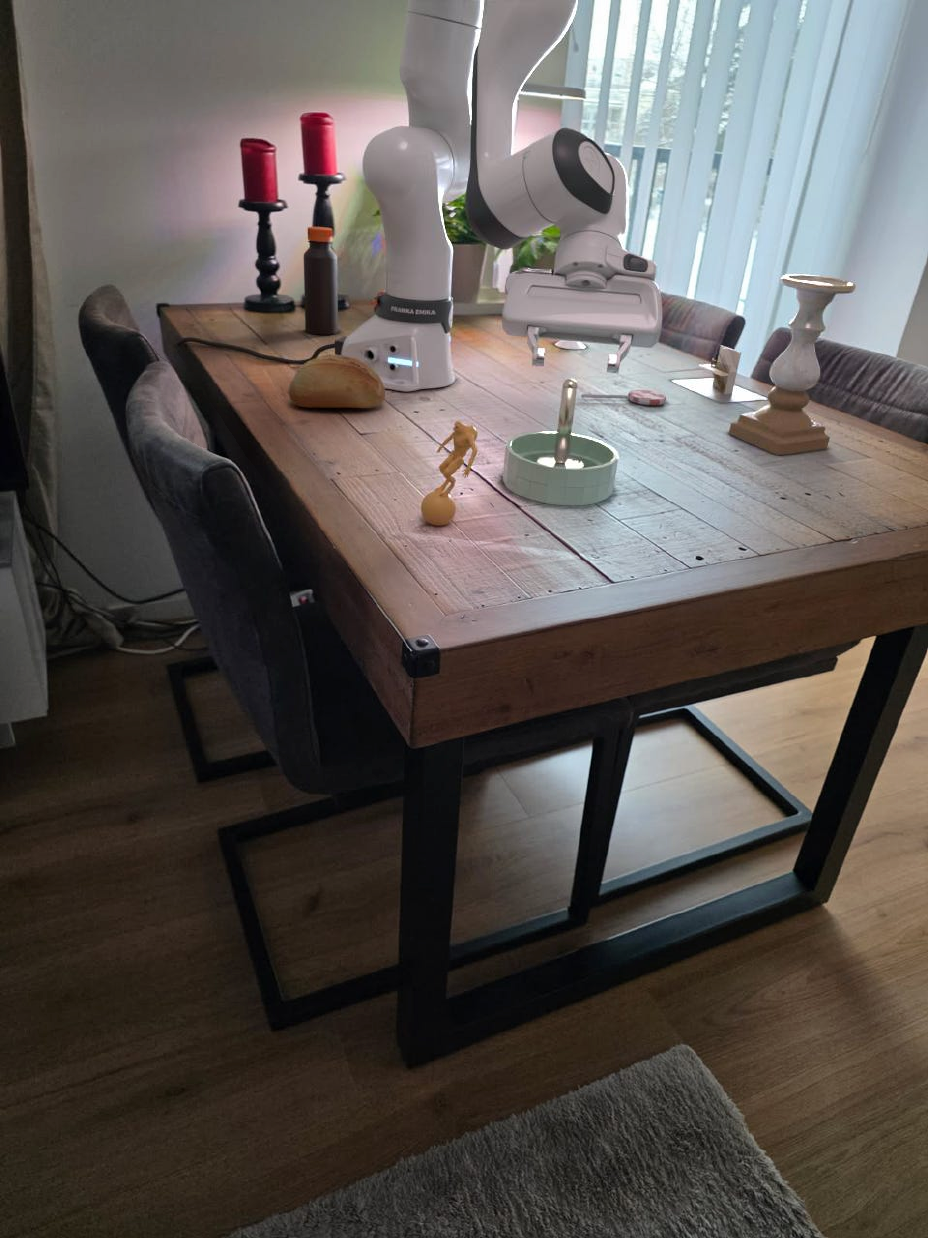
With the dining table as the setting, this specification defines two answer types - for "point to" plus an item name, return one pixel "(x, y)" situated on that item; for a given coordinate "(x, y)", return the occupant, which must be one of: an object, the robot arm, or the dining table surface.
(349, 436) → the dining table surface
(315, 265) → the bottle
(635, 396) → the lollipop
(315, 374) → the bread roll
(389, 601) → the dining table surface
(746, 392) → the architectural model
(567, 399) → the meat pounder
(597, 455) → the bowl
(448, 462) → the figurine
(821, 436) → the candle holder
